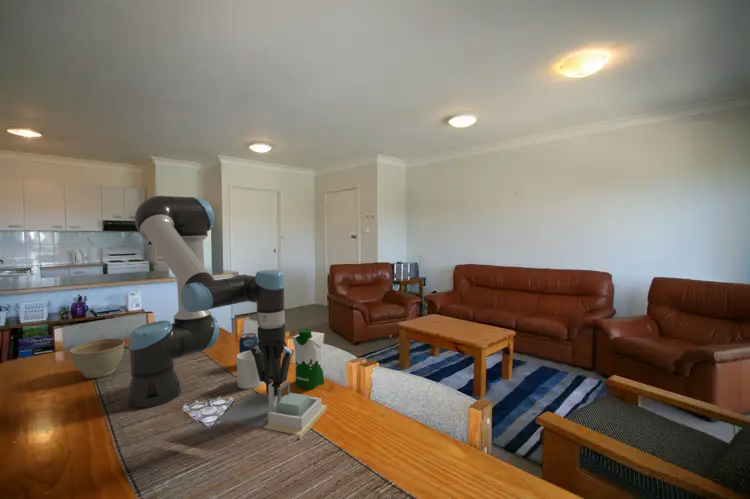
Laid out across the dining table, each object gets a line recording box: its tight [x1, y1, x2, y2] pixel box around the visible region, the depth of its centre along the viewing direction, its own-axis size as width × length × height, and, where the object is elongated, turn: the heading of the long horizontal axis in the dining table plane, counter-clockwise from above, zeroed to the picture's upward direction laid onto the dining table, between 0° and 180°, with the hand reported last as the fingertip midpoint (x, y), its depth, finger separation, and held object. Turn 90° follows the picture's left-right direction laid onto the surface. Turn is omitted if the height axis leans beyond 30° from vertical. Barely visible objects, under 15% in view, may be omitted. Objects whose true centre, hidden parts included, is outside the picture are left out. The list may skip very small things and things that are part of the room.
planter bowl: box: [69, 338, 125, 379], centre depth 135 cm, size 16×16×11 cm
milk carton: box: [292, 328, 325, 391], centre depth 123 cm, size 9×9×20 cm
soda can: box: [238, 332, 259, 354], centre depth 142 cm, size 7×7×12 cm
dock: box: [217, 393, 328, 440], centre depth 104 cm, size 26×16×4 cm, turn 72°
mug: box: [236, 350, 265, 390], centre depth 125 cm, size 12×9×11 cm
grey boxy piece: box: [276, 380, 311, 417], centre depth 102 cm, size 7×6×9 cm
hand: (273, 405), depth 104 cm, fingers closed
